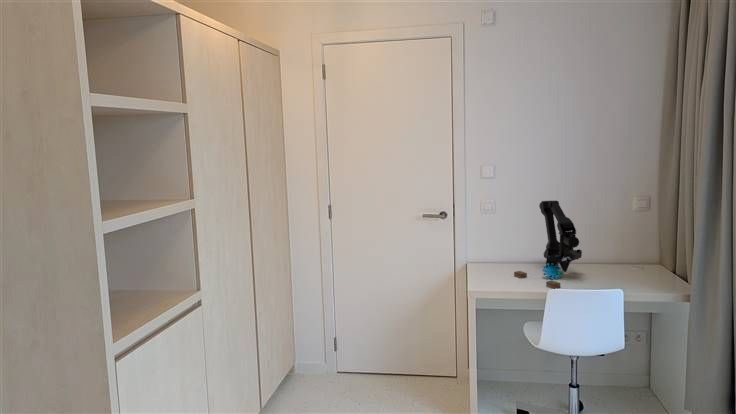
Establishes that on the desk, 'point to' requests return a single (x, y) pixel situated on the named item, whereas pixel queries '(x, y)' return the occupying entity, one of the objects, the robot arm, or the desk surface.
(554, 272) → the gear
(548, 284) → the joist marks
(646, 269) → the desk surface
